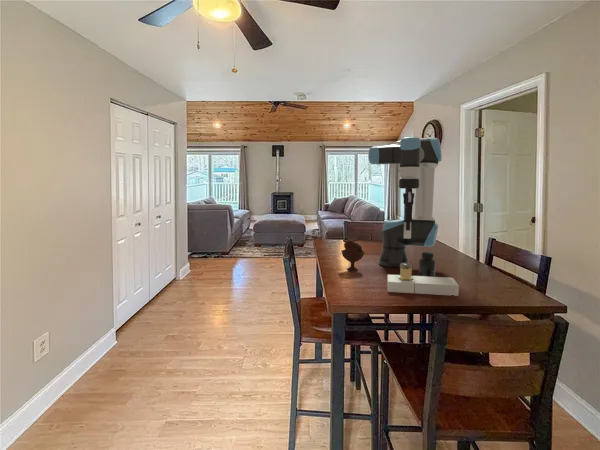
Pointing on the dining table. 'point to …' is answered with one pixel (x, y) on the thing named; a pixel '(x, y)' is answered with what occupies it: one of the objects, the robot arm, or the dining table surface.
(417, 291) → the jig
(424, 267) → the supplement bottle
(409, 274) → the gold grey cylinder
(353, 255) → the ice cream bowl
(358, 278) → the dining table surface
